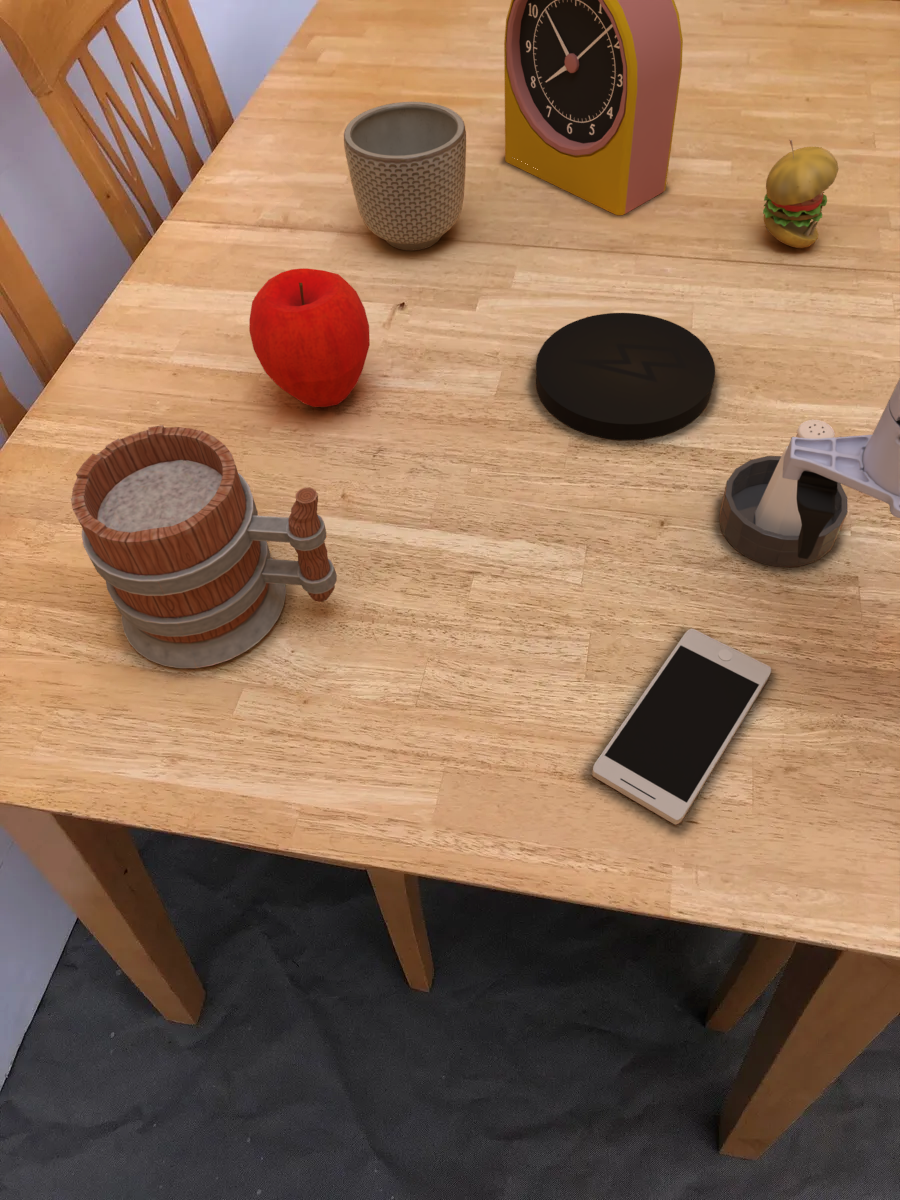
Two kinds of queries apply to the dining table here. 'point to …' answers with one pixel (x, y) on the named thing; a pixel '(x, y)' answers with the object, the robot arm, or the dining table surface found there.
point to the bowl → (757, 542)
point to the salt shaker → (787, 489)
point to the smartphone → (681, 725)
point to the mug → (192, 546)
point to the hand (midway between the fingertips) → (858, 558)
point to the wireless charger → (624, 376)
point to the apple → (310, 335)
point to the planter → (407, 171)
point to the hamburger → (798, 194)
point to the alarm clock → (593, 95)
